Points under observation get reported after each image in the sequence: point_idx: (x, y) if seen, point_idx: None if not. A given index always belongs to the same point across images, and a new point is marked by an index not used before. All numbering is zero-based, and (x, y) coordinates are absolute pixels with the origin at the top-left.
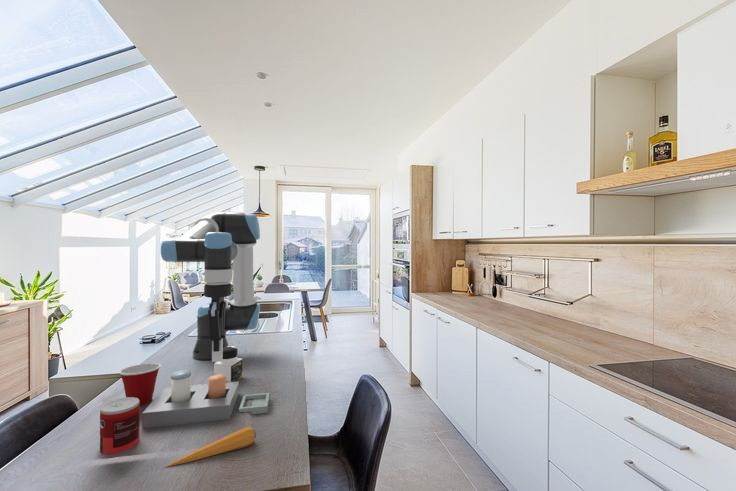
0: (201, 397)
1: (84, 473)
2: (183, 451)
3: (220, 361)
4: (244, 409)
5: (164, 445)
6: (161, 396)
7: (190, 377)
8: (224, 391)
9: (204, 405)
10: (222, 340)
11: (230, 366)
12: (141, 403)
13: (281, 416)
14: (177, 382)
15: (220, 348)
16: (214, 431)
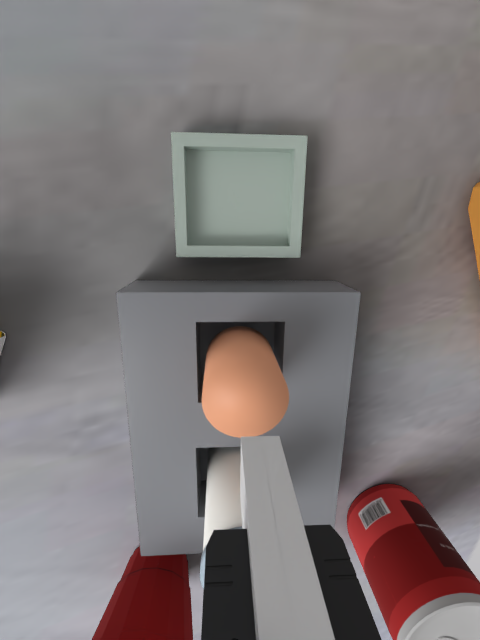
0: None
1: (453, 532)
2: (450, 372)
3: (277, 442)
4: (300, 235)
5: (403, 426)
6: None
7: (240, 517)
8: (254, 336)
9: (335, 385)
10: (274, 616)
11: None
12: (183, 565)
13: (345, 75)
14: None
15: (304, 534)
16: (375, 316)
